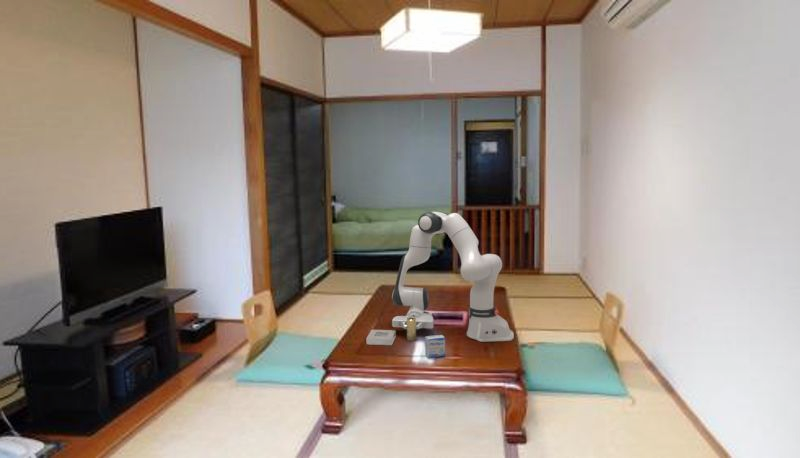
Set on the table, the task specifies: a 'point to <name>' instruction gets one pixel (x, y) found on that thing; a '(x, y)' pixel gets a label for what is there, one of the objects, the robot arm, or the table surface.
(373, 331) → the aluminium jig
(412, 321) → the brass bushing
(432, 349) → the medicine box
